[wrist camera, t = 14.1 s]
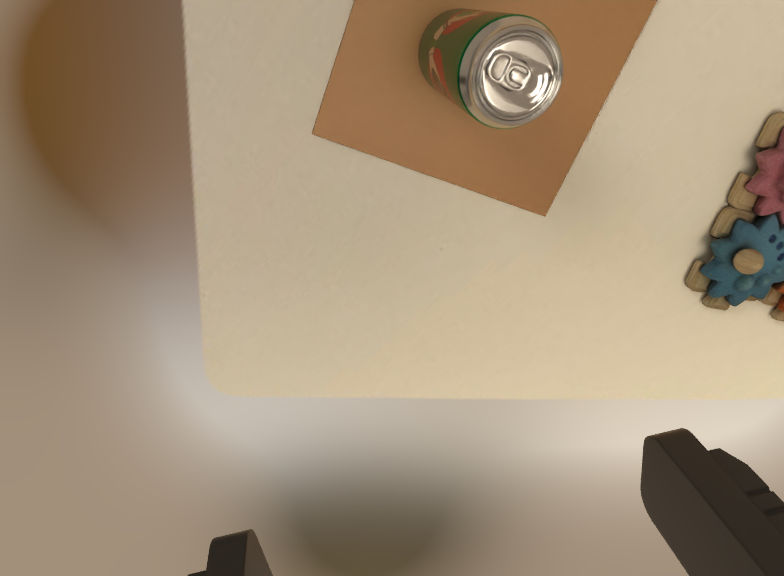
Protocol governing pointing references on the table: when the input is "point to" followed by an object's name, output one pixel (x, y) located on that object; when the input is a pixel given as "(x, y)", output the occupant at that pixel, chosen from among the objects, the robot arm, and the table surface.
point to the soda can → (492, 65)
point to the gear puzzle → (749, 235)
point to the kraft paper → (453, 125)
